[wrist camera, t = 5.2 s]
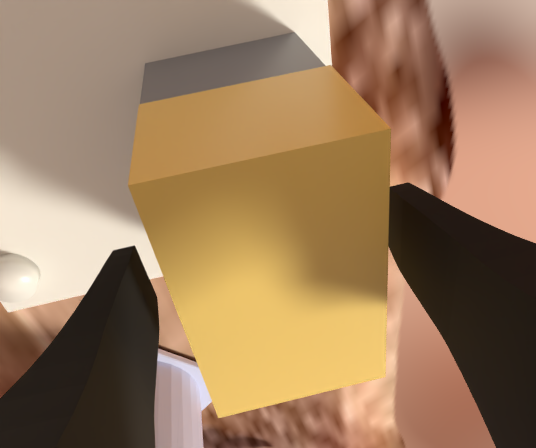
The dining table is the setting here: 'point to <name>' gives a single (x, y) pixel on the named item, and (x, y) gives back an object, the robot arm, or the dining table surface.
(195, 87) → the base brick
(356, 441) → the dining table surface
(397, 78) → the dining table surface
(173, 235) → the top brick
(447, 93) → the dining table surface
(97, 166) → the baseplate
